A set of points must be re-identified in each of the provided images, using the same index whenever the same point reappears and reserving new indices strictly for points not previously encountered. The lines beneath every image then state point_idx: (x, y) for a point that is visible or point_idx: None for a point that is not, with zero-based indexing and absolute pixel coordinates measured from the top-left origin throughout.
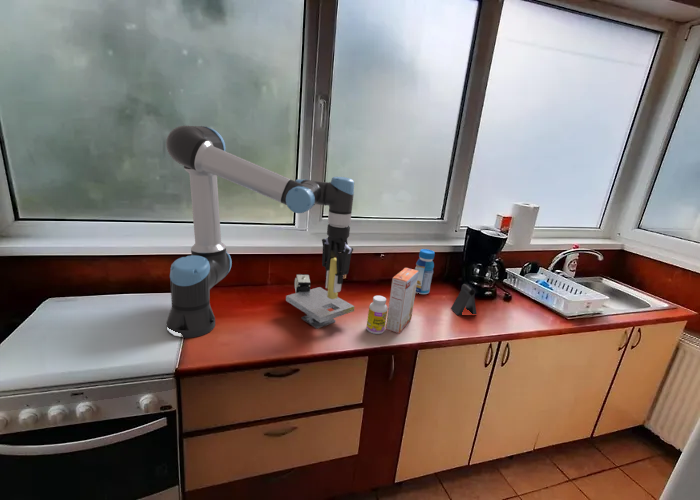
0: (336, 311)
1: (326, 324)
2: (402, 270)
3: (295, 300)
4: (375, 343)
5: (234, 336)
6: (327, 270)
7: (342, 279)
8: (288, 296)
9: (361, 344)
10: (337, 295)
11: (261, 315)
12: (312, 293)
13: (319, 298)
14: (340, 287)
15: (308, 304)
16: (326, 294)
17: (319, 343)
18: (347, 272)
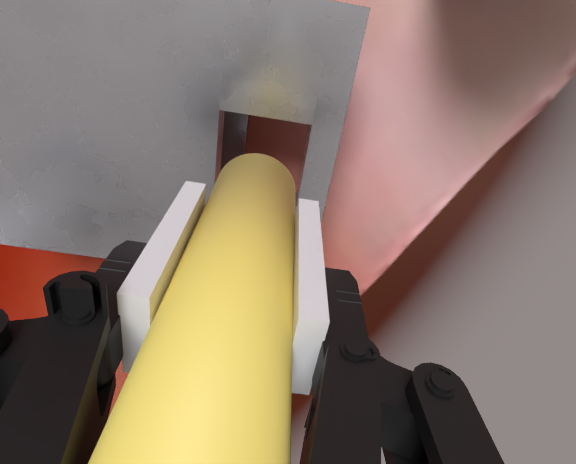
0: (322, 179)
1: (248, 118)
2: None
3: (71, 246)
4: (538, 70)
5: (117, 379)
6: (125, 367)
7: (359, 309)
8: (3, 239)
9: (478, 131)
10: (291, 183)
11: (16, 257)
12: (16, 91)
13: (114, 117)
14: (318, 224)
15: (152, 231)
16: (77, 12)
17: (329, 246)
18: (464, 412)
